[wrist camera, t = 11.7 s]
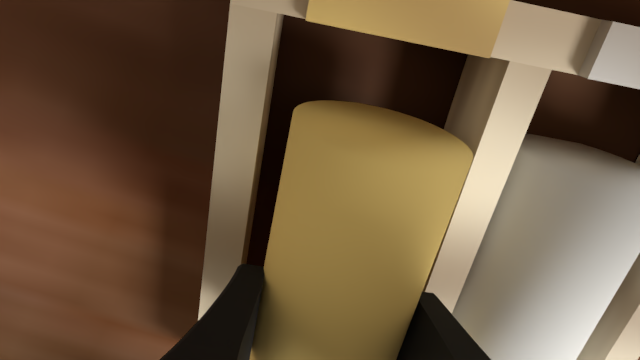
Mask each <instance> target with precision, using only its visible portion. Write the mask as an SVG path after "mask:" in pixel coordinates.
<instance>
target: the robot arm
mask: <svg viewBox="0 0 640 360" xmlns="http://www.w3.org/2000/svg"><path fill="white" fill-rule="evenodd" d="M264 274H265V273H264V267H262V266H256V265H249V264H241V265H239V266H238V267H237V269H236V271H235V273H234V275H233V276H232V278H231V280H230V281H229V283H228V284H227V286H226V287H225V288H224V290H223V291H222V292H221V294H220V295H219V296H218V298H217V299H216V300H215V301H214V303H213V304H212V305H211V306H210V308H209V309H208V310H207V311H206V313H205V314H204V315H203V316H202V317H201V318H200V319H199V321H198V322H197V323H196V324H195V325H194V326H193V327H192V328H191V329H190V330H189V331H188V332H187V334H186V335H185V336H184V337H183V338H182V339H181V340H180V341H179V342H178V343H177V344H176V345H175V346H174V347H173V348H172V349H171V350H170V351H168V352H167V353H166V354H165V355H164V356H163V357H162V358H161V359H160V360H250V354H251V349H252V343H253V337H254V331H255V326H256V320H257V314H258V308H259V302H260V297H261V291H262V285H263V279H264ZM396 360H491V359H490V358H489V357H488V356H487V354H486V353H485V352H484V351H483V350H482V349H481V348H480V347H479V345H478V344H477V343H476V342H475V341H474V340H473V339H472V337H471V336H470V335H469V334H468V333H467V332H466V330H465V329H464V328H463V327H462V326H461V324H460V323H459V322H458V321H457V320H456V318H455V317H454V316H453V315H452V314H451V313H450V311H449V310H448V309H447V308H446V307H445V305H444V304H443V303H442V302H441V301H440V300H439V298H438V297H437V296H436V295H435V294H434V293H429V292H423V291H422V293H421V296H420V299H419V301H418V304H417V306H416V309H415V312H414V314H413V317H412V320H411V322H410V325H409V327H408V330H407V333H406V335H405V338H404V340H403V343H402V346H401V348H400V351H399V353H398V356H397V359H396Z"/></svg>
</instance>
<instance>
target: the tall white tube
mask: <svg viewBox="0 0 640 360" xmlns="http://www.w3.org/2000/svg"><path fill="white" fill-rule="evenodd" d="M639 253H640V165H638V164H636V163H633V162H631V161H629V160H626V159H624V158H622V157H619V156H616V155H614V154H611V153H608V152H606V151H603V150H600V149H597V148H594V147H590V146H587V145H584V144H580V143H576V142H570V141H565V140H560V139H555V138H550V137H544V136H539V135H534V134H525V136H524V139H523V141H522V144H521V146H520V149H519V151H518V153H517V156H516V158H515V161H514V163H513V166H512V168H511V171H510V173H509V175H508V178H507V180H506V183H505V185H504V188H503V190H502V192H501V195H500V197H499V200H498V202H497V205H496V207H495V210H494V212H493V214H492V217H491V219H490V222H489V224H488V227H487V229H486V231H485V234H484V236H483V239H482V241H481V244H480V246H479V249H478V251H477V253H476V256H475V258H474V261H473V263H472V266H471V268H470V270H469V273H468V275H467V278H466V280H465V283H464V285H463V288H462V290H461V292H460V295H459V297H458V300H457V302H456V305H455V307H454V309H453V312H452V315H453V316H454V317H455V318H456V320H457V321H458V322H459V323H460V324H461V326H462V327H463V328H464V329H465V330H466V332H467V333H468V334H469V335H470V336H471V337H472V339H473V340H474V341H475V342H476V343H477V344H478V345H479V347H480V348H481V349H482V350H483V351H484V352H485V353H486V354H487V356H488V357H489V358H490V359H491V360H576V359H577V357H578V356H579V354H580V352H581V351H582V349H583V347H584V346H585V344H586V342H587V340H588V339H589V337H590V335H591V334H592V332H593V330H594V329H595V327H596V325H597V324H598V322H599V320H600V319H601V317H602V315H603V314H604V312H605V310H606V309H607V307H608V305H609V304H610V302H611V300H612V298H613V297H614V295H615V293H616V292H617V290H618V288H619V287H620V285H621V283H622V282H623V280H624V278H625V277H626V275H627V273H628V272H629V270H630V268H631V267H632V265H633V263H634V261H635V260H636V258H637V256H638V255H639Z"/></svg>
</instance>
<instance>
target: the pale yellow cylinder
mask: <svg viewBox="0 0 640 360" xmlns="http://www.w3.org/2000/svg"><path fill="white" fill-rule="evenodd" d="M472 160H473V153H472V151H471V149H470V148H469V147H468V146H467V145H466V144H465V143H464V142H463V141H461V140H460V139H459V138H457V137H456V136H454V135H452V134H451V133H449V132H447V131H445V130H444V129H441V128H439V127H437V126H435V125H433V124H431V123H428V122H426V121H423V120H421V119H418V118H415V117H412V116H410V115H406V114H403V113H400V112H397V111H393V110H389V109H385V108H381V107H377V106H372V105H367V104H362V103H355V102H347V101H335V100H319V101H310V102H305V103H302V104H300V105H298V106H297V107H295V109H294V110H293V114H292V120H291V125H290V130H289V136H288V141H287V146H286V152H285V157H284V162H283V168H282V173H281V178H280V184H279V189H278V194H277V200H276V205H275V210H274V216H273V221H272V226H271V232H270V237H269V242H268V247H267V253H266V258H265V263H264V273H265V274H264V279H263V285H262V291H261V297H260V302H259V308H258V314H257V320H256V326H255V331H254V337H253V343H252V349H251V354H250V360H396V359H397V356H398V353H399V351H400V348H401V346H402V343H403V340H404V338H405V335H406V333H407V330H408V327H409V325H410V322H411V320H412V317H413V314H414V312H415V309H416V306H417V304H418V301H419V299H420V296H421V293H422V291H423V288H424V286H425V283H426V280H427V278H428V275H429V273H430V270H431V267H432V265H433V262H434V260H435V257H436V254H437V252H438V249H439V246H440V244H441V241H442V239H443V236H444V233H445V231H446V228H447V226H448V223H449V220H450V218H451V215H452V213H453V210H454V207H455V205H456V202H457V200H458V197H459V194H460V192H461V189H462V186H463V184H464V181H465V179H466V176H467V173H468V171H469V168H470V166H471V163H472Z"/></svg>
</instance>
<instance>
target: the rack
mask: <svg viewBox="0 0 640 360" xmlns="http://www.w3.org/2000/svg"><path fill="white" fill-rule="evenodd" d="M284 15H289V16H293V17H298V18H303V19H306V20H305V21H309V22H314V23H319V24H324V25H329V26H334V27H338V28H343V29H348V30H353V31H358V32H363V33H368V34H373V35H377V36H382V37H387V38H392V39H397V40H402V41H407V42H411V43H416V44H421V45H426V46H431V47H436V48H441V49H446V50H450V51H455V52H460V53H465V54H468V56H467V59H466V62H465V65H464V68H463V71H462V74H461V77H460V80H459V83H458V87H457V90H456V93H455V96H454V99H453V102H452V105H451V108H450V111H449V114H448V117H447V120H446V123H445V126H444V130H445V131H447V132H449V133H451V134H452V135H454V136H456V137H457V138H459V139H460V140H461V141H463V142H464V143H465V144H466V145H467V146H468V147H469V148H470V149H471V151H472V153H473V160H472V163H471V166H470V168H469V171H468V173H467V176H466V179H465V181H464V184H463V186H462V189H461V192H460V194H459V197H458V200H457V202H456V205H455V207H454V210H453V213H452V215H451V218H450V220H449V223H448V226H447V228H446V231H445V233H444V236H443V239H442V241H441V244H440V246H439V249H438V252H437V254H436V257H435V260H434V262H433V265H432V267H431V270H430V273H429V275H428V278H427V280H426V283H425V286H424V288H423V292H429V293H434V294H435V295H436V296H437V297H438V298H439V300H440V301H441V302H442V303H443V304H444V305H445V307H446V308H447V309H448V310H449V311H450V313H451V314H452V312H453V309H454V307H455V305H456V302H457V300H458V297H459V295H460V292H461V290H462V288H463V285H464V283H465V280H466V278H467V275H468V273H469V270H470V268H471V266H472V263H473V261H474V258H475V256H476V253H477V251H478V249H479V246H480V244H481V241H482V239H483V236H484V234H485V231H486V229H487V227H488V224H489V222H490V219H491V217H492V214H493V212H494V210H495V207H496V205H497V202H498V200H499V197H500V195H501V192H502V190H503V188H504V185H505V183H506V180H507V178H508V175H509V173H510V171H511V168H512V166H513V163H514V161H515V158H516V156H517V153H518V151H519V149H520V146H521V144H522V141H523V139H524V136H525V134H526V132H527V129H528V127H529V124H530V122H531V119H532V117H533V114H534V112H535V110H536V107H537V105H538V102H539V100H540V97H541V95H542V93H543V90H544V88H545V85H546V83H547V80H548V78H549V75H550V73H551V71H552V70H556V71H561V72H566V73H571V74H575V75H579V76H582V77H584V78H587V79H592V80H596V81H601V82H606V83H611V84H616V85H621V86H626V87H631V88H635V89H640V27H636V26H632V25H627V24H623V23H618V22H614V21H607V20H601V19H596V18H592V17H587V16H582V15H578V14H573V13H569V12H564V11H560V10H555V9H550V8H546V7H541V6H537V5H532V4H527V3H523V2H518V1H514V0H230V9H229V19H228V29H227V39H226V48H225V58H224V68H223V78H222V88H221V98H220V108H219V118H218V127H217V137H216V147H215V157H214V167H213V177H212V187H211V197H210V206H209V216H208V226H207V236H206V246H205V256H204V266H203V276H202V285H201V295H200V305H199V315H198V321H199V319H200V318H201V317H202V316H203V315H204V314H205V313H206V311H207V310H208V309H209V308H210V306H211V305H212V304H213V303H214V301H215V300H216V299H217V298H218V296H219V295H220V294H221V292H222V291H223V290H224V288H225V287H226V286H227V284H228V283H229V281H230V280H231V278H232V276H233V275H234V273H235V271H236V269H237V267H238V266H239V265H241V264H247V257H248V251H249V244H250V237H251V231H252V224H253V217H254V211H255V204H256V197H257V191H258V184H259V177H260V171H261V164H262V158H263V151H264V144H265V138H266V131H267V124H268V118H269V111H270V104H271V98H272V91H273V84H274V78H275V71H276V65H277V58H278V51H279V45H280V38H281V31H282V25H283V18H284ZM635 163H636V164H638V165H640V154H639V156H638V158H637V160H636V162H635ZM639 356H640V253H639V255H638V256H637V258H636V260H635V261H634V263H633V265H632V267H631V268H630V270H629V272H628V273H627V275H626V277H625V278H624V280H623V282H622V283H621V285H620V287H619V288H618V290H617V292H616V293H615V295H614V297H613V298H612V300H611V302H610V304H609V305H608V307H607V309H606V310H605V312H604V314H603V315H602V317H601V319H600V320H599V322H598V324H597V325H596V327H595V329H594V330H593V332H592V334H591V335H590V337H589V339H588V340H587V342H586V344H585V346H584V347H583V349H582V351H581V352H580V354H579V356H578V357H577V359H576V360H637V359H638V358H639Z"/></svg>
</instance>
